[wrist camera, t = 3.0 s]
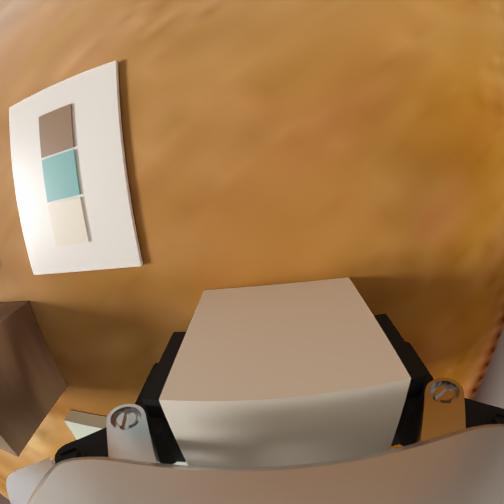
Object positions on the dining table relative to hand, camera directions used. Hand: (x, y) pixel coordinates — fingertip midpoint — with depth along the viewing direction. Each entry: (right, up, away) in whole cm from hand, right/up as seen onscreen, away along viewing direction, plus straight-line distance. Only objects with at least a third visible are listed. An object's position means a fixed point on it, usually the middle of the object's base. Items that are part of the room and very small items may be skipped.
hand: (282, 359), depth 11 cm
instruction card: (-9, +7, -1) cm, 11 cm away
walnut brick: (-15, -1, +2) cm, 15 cm away
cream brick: (0, 0, +1) cm, 1 cm away
